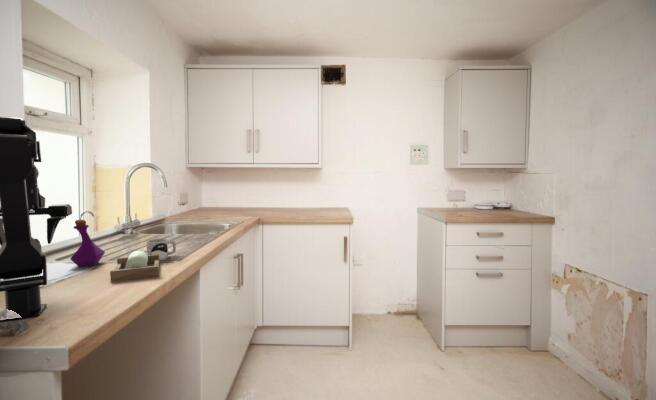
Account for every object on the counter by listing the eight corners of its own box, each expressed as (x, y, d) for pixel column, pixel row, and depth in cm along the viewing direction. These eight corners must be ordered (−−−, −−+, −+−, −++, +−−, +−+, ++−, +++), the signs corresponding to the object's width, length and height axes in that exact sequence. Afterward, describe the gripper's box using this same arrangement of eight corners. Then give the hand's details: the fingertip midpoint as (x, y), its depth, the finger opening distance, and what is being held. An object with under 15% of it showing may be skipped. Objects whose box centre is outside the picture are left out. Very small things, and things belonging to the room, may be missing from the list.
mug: (152, 262, 116) (151, 243, 115) (143, 259, 120) (143, 240, 119) (180, 256, 123) (179, 238, 123) (171, 253, 128) (171, 236, 127)
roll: (146, 275, 102) (146, 257, 101) (124, 277, 99) (124, 258, 99) (148, 266, 111) (147, 250, 110) (128, 268, 108) (128, 251, 108)
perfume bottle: (70, 268, 107) (66, 212, 106) (80, 262, 115) (77, 210, 113) (97, 267, 109) (94, 212, 108) (105, 261, 117) (103, 209, 115)
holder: (158, 276, 100) (157, 266, 100) (110, 281, 95) (110, 271, 95) (159, 262, 115) (158, 254, 115) (117, 266, 110) (117, 257, 109)
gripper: (75, 183, 97) (78, 236, 99) (-12, 183, 89) (-7, 242, 91) (64, 184, 87) (68, 244, 89) (-34, 185, 79) (-28, 251, 81)
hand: (27, 244), depth 87 cm, fingers open, 9 cm apart
